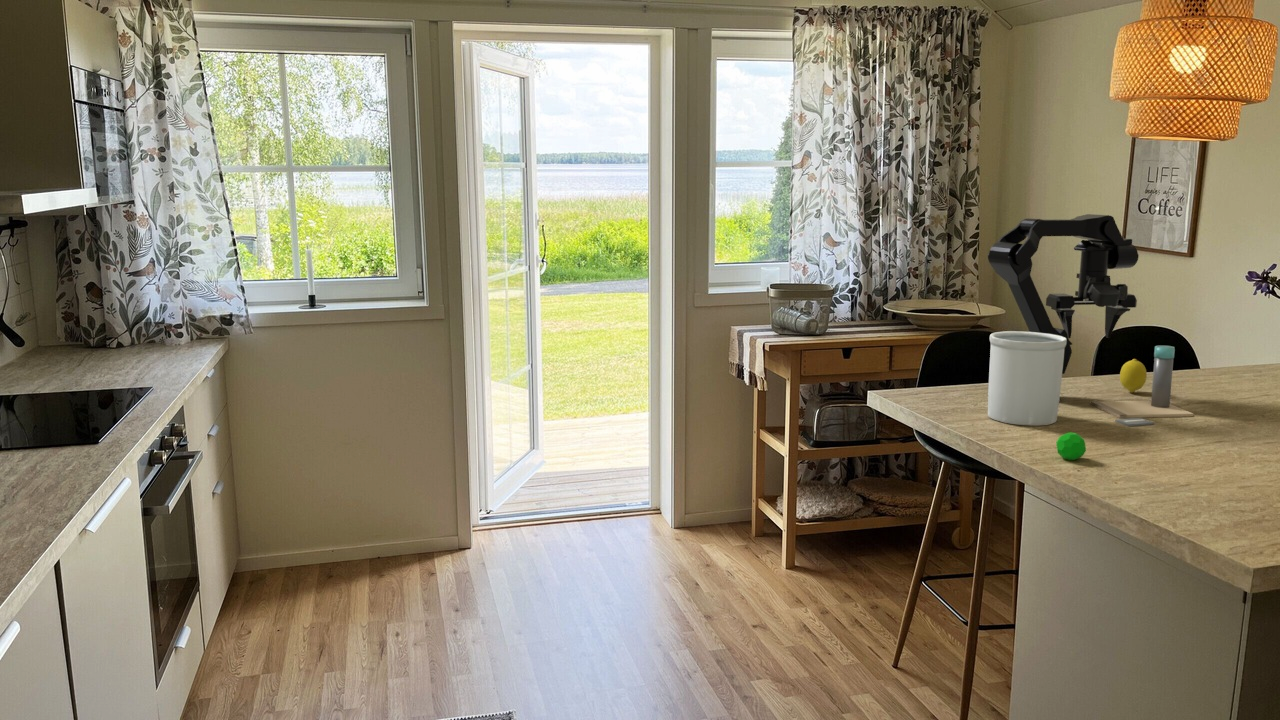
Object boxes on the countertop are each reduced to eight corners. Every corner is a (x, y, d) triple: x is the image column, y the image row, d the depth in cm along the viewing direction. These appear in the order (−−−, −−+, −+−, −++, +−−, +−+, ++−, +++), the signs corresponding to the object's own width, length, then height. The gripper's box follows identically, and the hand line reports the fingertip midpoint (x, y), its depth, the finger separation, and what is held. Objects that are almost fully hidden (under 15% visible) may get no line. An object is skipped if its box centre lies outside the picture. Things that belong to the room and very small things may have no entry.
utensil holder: (995, 406, 216) (1000, 327, 212) (1067, 415, 207) (1073, 334, 204) (975, 420, 204) (980, 338, 200) (1050, 430, 195) (1057, 345, 192)
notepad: (1119, 418, 205) (1119, 414, 204) (1090, 404, 216) (1090, 401, 216) (1193, 416, 205) (1193, 413, 205) (1160, 402, 217) (1160, 399, 217)
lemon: (1149, 395, 224) (1152, 361, 223) (1125, 395, 224) (1128, 361, 223) (1137, 389, 230) (1140, 356, 228) (1114, 390, 230) (1117, 356, 228)
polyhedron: (1091, 461, 175) (1093, 436, 174) (1068, 464, 174) (1070, 438, 173) (1071, 453, 180) (1073, 429, 179) (1049, 456, 179) (1051, 431, 178)
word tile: (1128, 426, 198) (1128, 423, 198) (1115, 421, 202) (1115, 419, 202) (1153, 424, 199) (1154, 422, 199) (1139, 419, 203) (1140, 417, 203)
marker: (1156, 408, 210) (1161, 348, 208) (1146, 403, 214) (1151, 345, 211) (1173, 407, 210) (1178, 348, 208) (1163, 403, 214) (1168, 345, 211)
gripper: (1070, 274, 213) (1065, 344, 216) (1153, 273, 214) (1147, 343, 217) (1047, 269, 224) (1042, 336, 227) (1126, 268, 225) (1120, 334, 228)
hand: (1088, 337), depth 225 cm, fingers open, 9 cm apart
